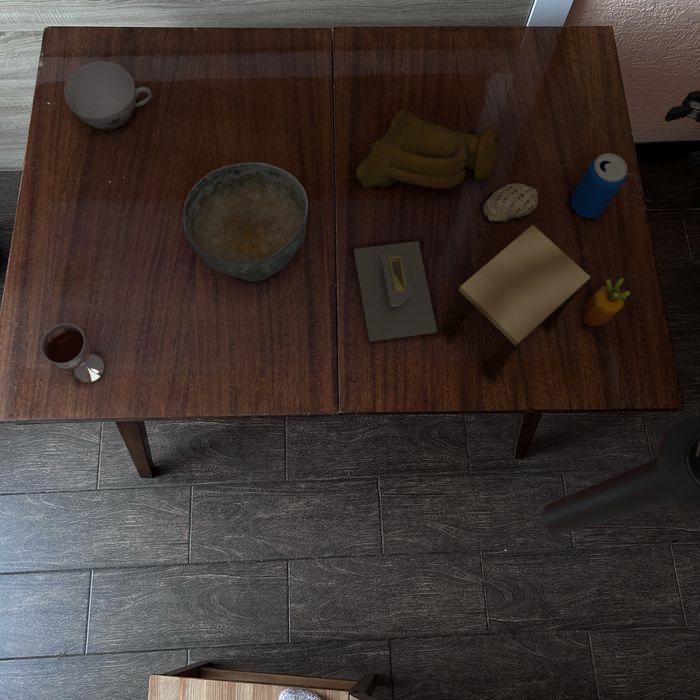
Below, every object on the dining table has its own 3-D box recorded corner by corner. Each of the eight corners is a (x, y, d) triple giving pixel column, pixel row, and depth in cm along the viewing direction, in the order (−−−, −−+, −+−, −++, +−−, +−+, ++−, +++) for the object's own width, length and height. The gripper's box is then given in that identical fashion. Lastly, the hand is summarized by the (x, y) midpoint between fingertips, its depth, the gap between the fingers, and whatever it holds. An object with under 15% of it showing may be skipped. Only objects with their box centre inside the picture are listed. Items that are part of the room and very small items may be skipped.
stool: (554, 321, 122) (590, 277, 105) (491, 379, 118) (518, 342, 101) (505, 274, 125) (532, 224, 108) (442, 329, 121) (460, 286, 104)
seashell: (508, 240, 130) (546, 199, 128) (506, 235, 124) (546, 191, 123) (477, 214, 132) (514, 173, 130) (474, 207, 126) (512, 164, 124)
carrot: (567, 315, 122) (598, 278, 108) (592, 306, 123) (627, 268, 109) (580, 340, 121) (613, 306, 106) (605, 331, 121) (642, 296, 107)
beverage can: (578, 184, 131) (601, 145, 120) (609, 199, 130) (635, 162, 119) (563, 209, 129) (586, 172, 118) (595, 225, 128) (620, 189, 117)
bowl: (323, 223, 127) (322, 176, 113) (288, 316, 121) (282, 278, 107) (222, 193, 129) (209, 143, 114) (182, 283, 122) (163, 242, 108)
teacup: (79, 148, 131) (64, 120, 124) (77, 94, 135) (62, 64, 128) (160, 138, 132) (149, 110, 125) (155, 85, 136) (145, 55, 129)
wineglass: (110, 348, 118) (87, 322, 107) (108, 386, 116) (83, 364, 104) (70, 349, 118) (42, 323, 106) (66, 388, 115) (38, 365, 104)
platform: (418, 241, 126) (422, 222, 120) (437, 332, 120) (443, 318, 114) (353, 249, 125) (354, 231, 119) (369, 341, 120) (371, 327, 113)
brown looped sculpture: (388, 81, 129) (505, 101, 124) (387, 141, 139) (495, 162, 134) (354, 135, 118) (481, 159, 113) (355, 196, 128) (472, 221, 123)
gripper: (758, 67, 116) (670, 87, 114) (799, 137, 111) (707, 159, 110) (734, 97, 123) (650, 117, 121) (771, 164, 118) (685, 185, 117)
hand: (677, 137), depth 115 cm, fingers open, 8 cm apart
